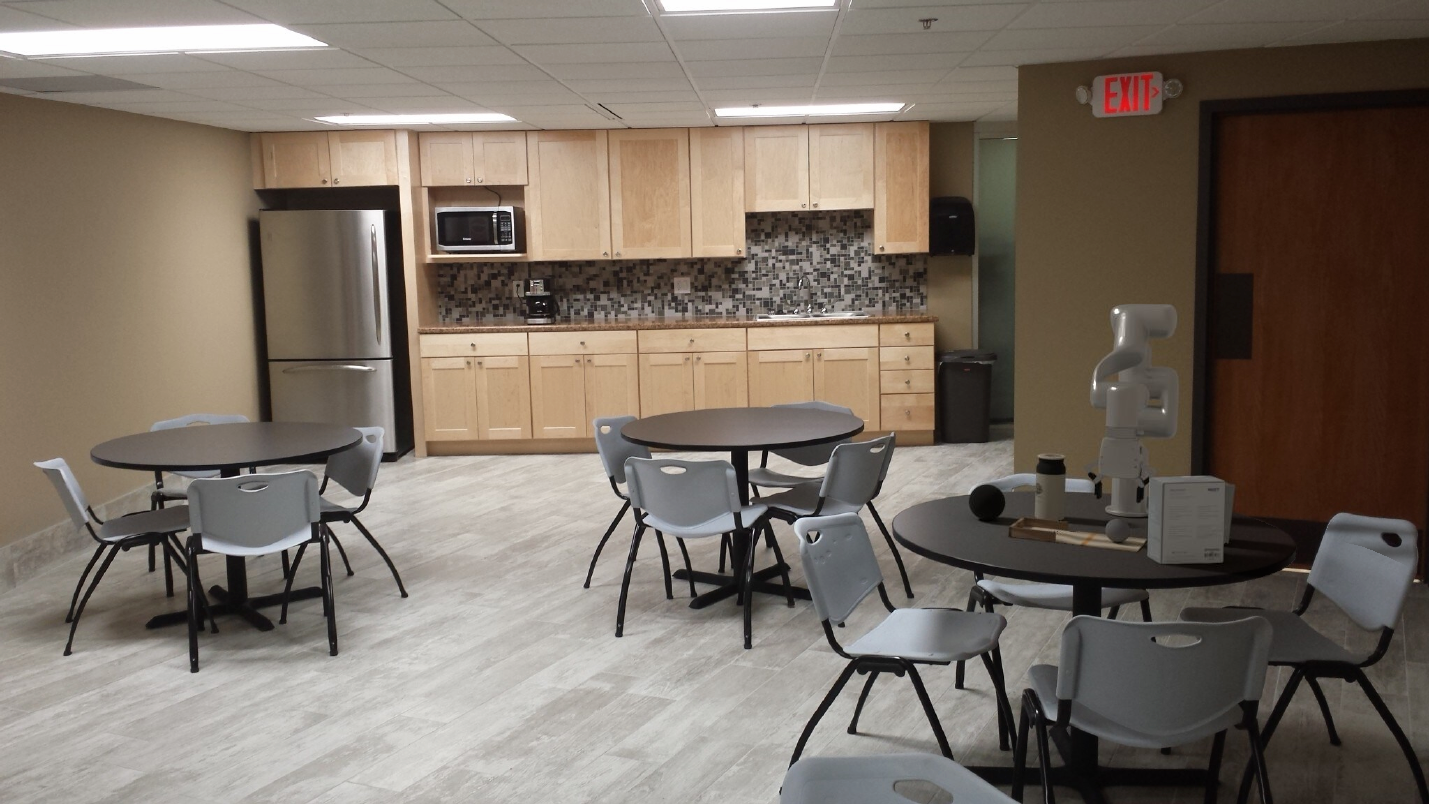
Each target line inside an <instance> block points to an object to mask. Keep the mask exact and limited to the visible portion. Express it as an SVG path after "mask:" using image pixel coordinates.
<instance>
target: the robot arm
mask: <svg viewBox="0 0 1429 804" xmlns="http://www.w3.org/2000/svg"><path fill="white" fill-rule="evenodd" d="M1109 317H1110V319H1109V320H1110V324H1111V330H1112V332H1113V335H1114V342H1113V348H1112V351H1111V352H1109V353H1108V354H1106V356H1104V357H1103V358H1102V359H1101V360H1100V362H1098V363H1097V364H1096V366H1095V368H1094V369H1093V370H1094V371H1093V373H1092V376H1091V377H1092V378H1091V384H1090V390H1089V391H1090V392H1089V400H1090V404H1091V406H1092V407H1093V408H1094V409H1095V410H1098V411H1106V412H1105V413H1106V414H1105V416H1106V418H1105V437H1102V440H1101V444H1100V449H1099V458H1098V459H1096V460H1094V461H1092V462H1089V463H1086V464H1084V466H1083V468H1084V469H1085V472H1086V473H1087V477H1088V478H1090V479H1091V481H1092V482H1093V484H1094V496H1096V497H1095V498H1096V500H1100V499H1102V496H1103V483H1102V480H1103V479H1104V478H1111V502H1110V505H1106V506H1105V512H1106V513H1107V514H1110V515H1114V516H1118V517H1125V518H1126V517H1127V518H1144V517H1149V507H1148V506H1147V503H1148V485H1149V478H1151V477H1156V476H1155V475H1157V472H1158V471H1157V470H1156V469H1154V468H1153V467H1151V466H1150V465H1149V457H1150V456H1149V455H1150V454H1149V452H1148V451H1149V450H1148V449H1147V447H1146V446H1145V445H1144V444H1143V442H1142V441H1141V439H1155V440H1157V439H1158V440H1169V439H1172V438H1174V437H1175V436H1176V434H1177V431H1178V417H1179V416H1178V415H1179V393H1180V385H1179V384H1180V383H1179V380H1180V379H1179V376H1178V372H1177V371H1176V370H1175V369H1174V368H1172V367H1168V366H1153V365H1152V354H1153V353H1152V351H1153V350H1152V347H1151V345H1150V344H1149V339H1170V338H1172V336H1173V335H1174V333H1175V330H1176V328H1177V326H1178V325H1177V324H1178V312H1177V310H1176V307H1175V306H1173V304H1166V303H1163V304H1162V303H1161V304H1158V303H1157V304H1156V303H1155V304H1153V303H1150V304H1149V303H1148V304H1147V303H1127V304H1120V305H1119V304H1118V305H1116V306H1114V307H1113V308H1112V309H1111V311H1110V316H1109ZM1116 373H1118V381H1105V380H1107V378H1109V377H1110V376H1112V375H1114V374H1116ZM1150 401H1158V402H1159V403H1160V404H1161V405H1160V404H1149V403H1150ZM1094 467H1097V469H1098V470H1097V472H1098V475H1097V474H1095V473H1094V471H1093V468H1094Z"/></svg>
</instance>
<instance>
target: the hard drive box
mask: <svg viewBox="0 0 1429 804" xmlns="http://www.w3.org/2000/svg"><path fill="white" fill-rule="evenodd" d="M1226 483H1227V482H1226V480H1223V479H1220V478H1218V477H1215V476H1213V475H1185V476H1184V475H1183V476H1179V475H1178V476H1158V477H1157V476H1154V477H1151V478H1149V483H1148V485H1149V487H1148V508H1149V516H1148V520H1147V521H1148V524H1147V525H1148V526H1147V527H1148V530H1147V531H1148V532H1147V558H1150V559H1151V560H1153V561H1155V562H1156V563H1158V564H1159V565H1180V564H1217V563H1219V564H1222V563H1223V562H1224V545H1225V544H1224V520H1225V492H1226Z"/></svg>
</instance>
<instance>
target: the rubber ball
mask: <svg viewBox="0 0 1429 804" xmlns="http://www.w3.org/2000/svg"><path fill="white" fill-rule="evenodd" d="M1104 530H1105V534H1106V535H1107V537H1108V538H1109V539H1110V540H1111V541H1113V542H1123V541H1125V540H1126V539H1127V538H1128V537H1130V535H1131V527H1130V526H1129V523H1128V522H1126V521H1125V520H1124V519H1122V518H1121V519H1120V518H1114V519H1111V520H1109V521H1108V522H1107V524H1106V526H1105V529H1104Z"/></svg>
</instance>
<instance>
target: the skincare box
mask: <svg viewBox="0 0 1429 804" xmlns="http://www.w3.org/2000/svg"><path fill="white" fill-rule="evenodd" d="M1235 491H1236V485H1235V484H1233V483H1230V482H1226V492H1225V520H1224V545H1225V543H1227V544H1229V542H1230V532H1231V525H1232V515H1233V507H1234V506H1233V505H1234V498H1235Z"/></svg>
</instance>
